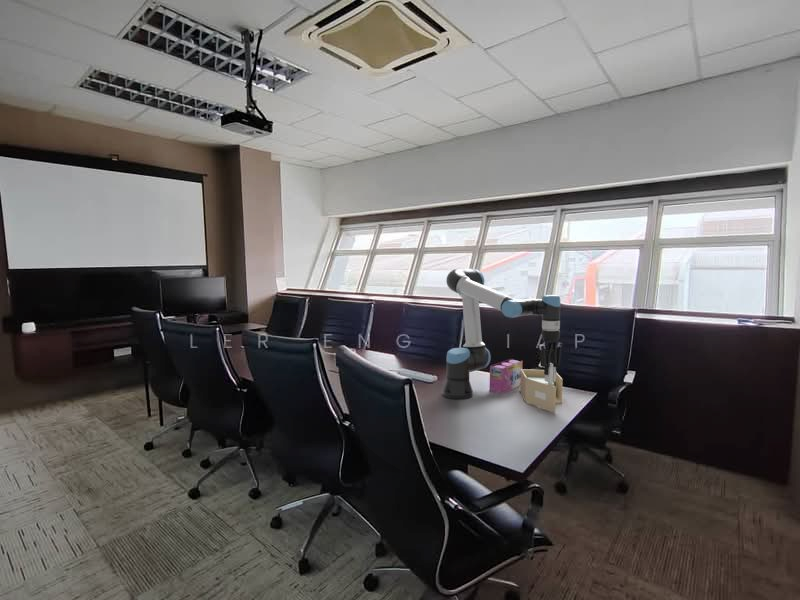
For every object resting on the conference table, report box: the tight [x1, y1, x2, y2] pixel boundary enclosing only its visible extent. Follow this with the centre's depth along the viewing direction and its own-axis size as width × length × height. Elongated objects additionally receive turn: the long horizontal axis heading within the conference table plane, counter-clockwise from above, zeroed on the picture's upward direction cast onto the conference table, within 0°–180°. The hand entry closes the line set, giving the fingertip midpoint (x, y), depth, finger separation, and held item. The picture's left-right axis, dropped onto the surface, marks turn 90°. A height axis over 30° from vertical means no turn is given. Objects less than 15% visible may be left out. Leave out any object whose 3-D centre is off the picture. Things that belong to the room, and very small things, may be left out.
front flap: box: [524, 362, 557, 414], centre depth 183 cm, size 17×2×22 cm, turn 31°
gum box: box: [489, 358, 524, 394], centre depth 215 cm, size 24×8×14 cm, turn 136°
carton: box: [519, 368, 564, 404], centre depth 198 cm, size 17×17×12 cm
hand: (550, 381), depth 178 cm, fingers open, 2 cm apart
